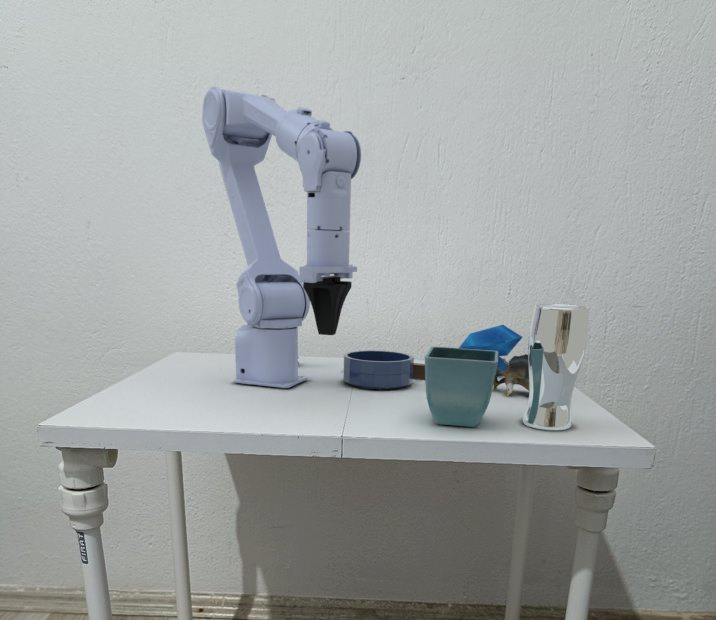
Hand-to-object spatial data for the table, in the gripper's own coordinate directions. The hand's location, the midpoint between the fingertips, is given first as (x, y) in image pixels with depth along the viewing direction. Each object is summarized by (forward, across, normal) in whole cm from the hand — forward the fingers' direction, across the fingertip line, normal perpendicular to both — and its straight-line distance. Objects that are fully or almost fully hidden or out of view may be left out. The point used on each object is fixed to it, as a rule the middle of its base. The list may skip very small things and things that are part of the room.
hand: (327, 334), depth 93 cm
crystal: (+10, +32, -18) cm, 38 cm away
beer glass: (+10, 0, -31) cm, 32 cm away
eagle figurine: (+10, +17, -25) cm, 32 cm away
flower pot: (+10, -4, -20) cm, 23 cm away
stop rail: (+9, +22, -3) cm, 25 cm away
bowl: (+9, +15, -3) cm, 18 cm away
